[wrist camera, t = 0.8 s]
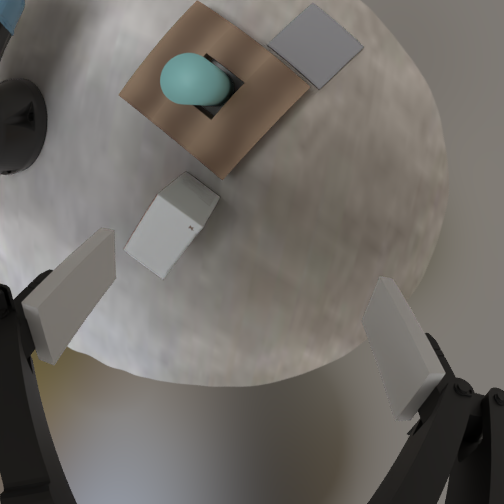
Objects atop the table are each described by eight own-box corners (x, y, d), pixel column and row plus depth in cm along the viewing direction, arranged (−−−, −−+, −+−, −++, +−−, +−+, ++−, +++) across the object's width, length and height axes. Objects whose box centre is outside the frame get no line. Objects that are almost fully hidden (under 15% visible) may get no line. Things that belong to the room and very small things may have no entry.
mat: (267, 45, 31) (267, 44, 31) (312, 4, 28) (312, 2, 28) (318, 89, 33) (319, 89, 33) (362, 47, 30) (364, 46, 30)
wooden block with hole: (132, 95, 35) (118, 95, 31) (204, 10, 30) (197, 0, 26) (227, 173, 38) (222, 180, 35) (306, 89, 33) (310, 87, 30)
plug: (189, 91, 34) (149, 84, 22) (213, 63, 33) (184, 43, 21) (217, 113, 35) (188, 115, 23) (241, 86, 34) (225, 73, 22)
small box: (186, 170, 38) (157, 191, 29) (221, 196, 40) (204, 226, 30) (153, 217, 41) (120, 250, 32) (186, 242, 43) (162, 281, 33)
